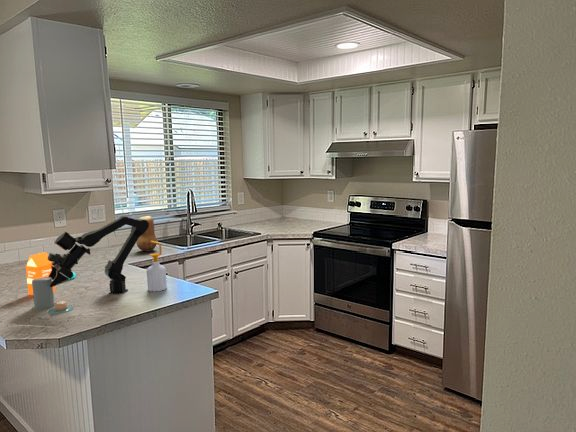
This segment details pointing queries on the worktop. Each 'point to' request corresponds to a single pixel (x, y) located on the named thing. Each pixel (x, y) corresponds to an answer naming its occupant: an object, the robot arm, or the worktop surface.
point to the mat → (41, 309)
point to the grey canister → (43, 293)
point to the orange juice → (37, 269)
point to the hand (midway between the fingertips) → (48, 284)
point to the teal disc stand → (60, 308)
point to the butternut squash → (147, 236)
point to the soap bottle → (156, 273)
